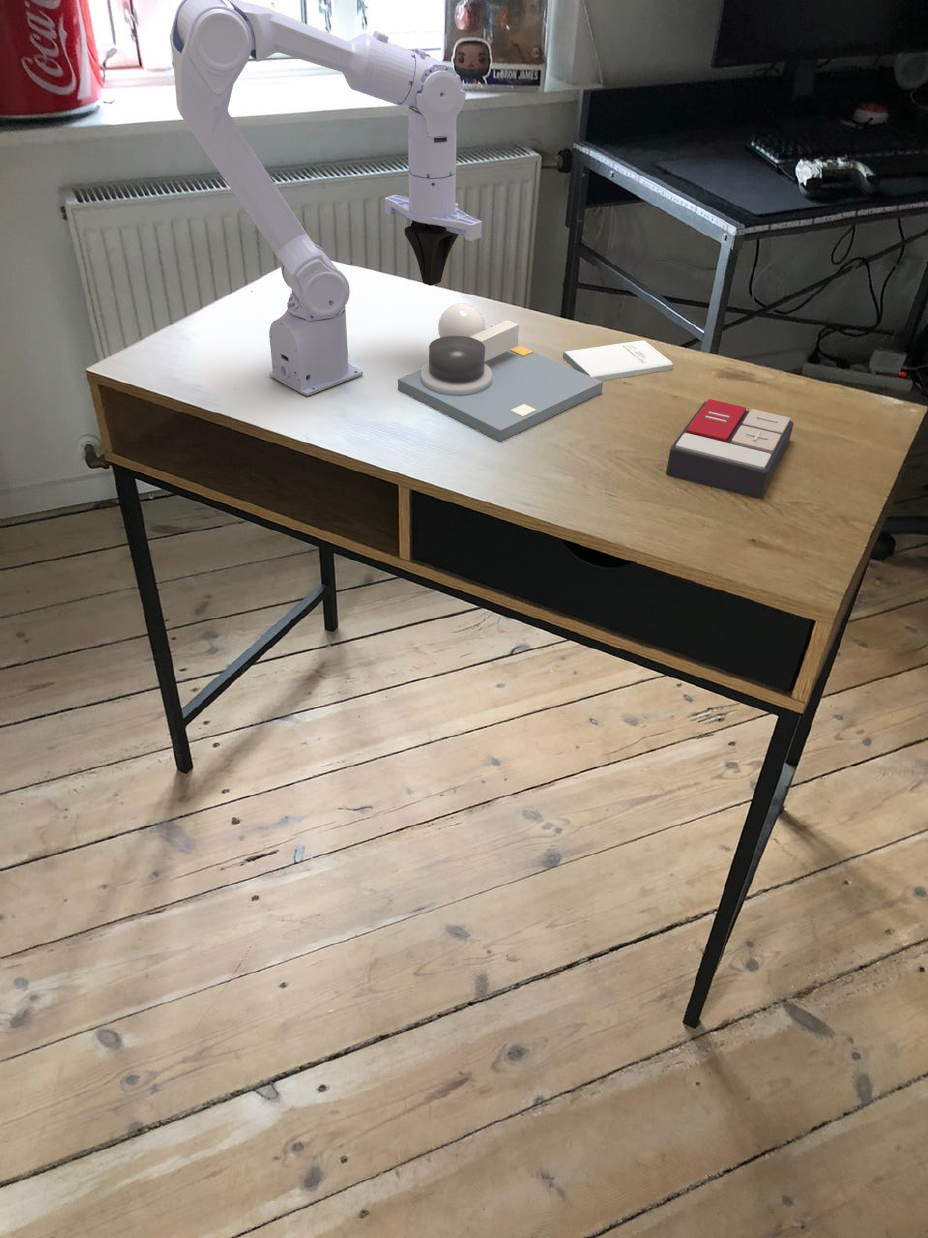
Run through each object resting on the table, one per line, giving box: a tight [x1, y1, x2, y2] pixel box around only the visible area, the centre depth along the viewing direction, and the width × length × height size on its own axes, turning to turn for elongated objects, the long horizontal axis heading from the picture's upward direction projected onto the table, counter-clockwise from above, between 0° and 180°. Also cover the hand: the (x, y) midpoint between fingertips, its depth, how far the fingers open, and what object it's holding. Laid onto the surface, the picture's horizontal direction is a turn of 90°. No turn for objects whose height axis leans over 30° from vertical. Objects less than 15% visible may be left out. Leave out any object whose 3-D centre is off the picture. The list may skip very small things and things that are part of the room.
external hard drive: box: [562, 340, 674, 382], centre depth 139 cm, size 2×8×12 cm
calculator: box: [665, 398, 794, 499], centre depth 119 cm, size 11×4×15 cm
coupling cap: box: [428, 319, 520, 382], centre depth 131 cm, size 14×7×3 cm, turn 139°
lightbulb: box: [437, 303, 486, 338], centre depth 141 cm, size 6×6×11 cm
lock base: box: [397, 344, 604, 443], centre depth 131 cm, size 19×18×2 cm
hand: (432, 282), depth 132 cm, fingers closed
